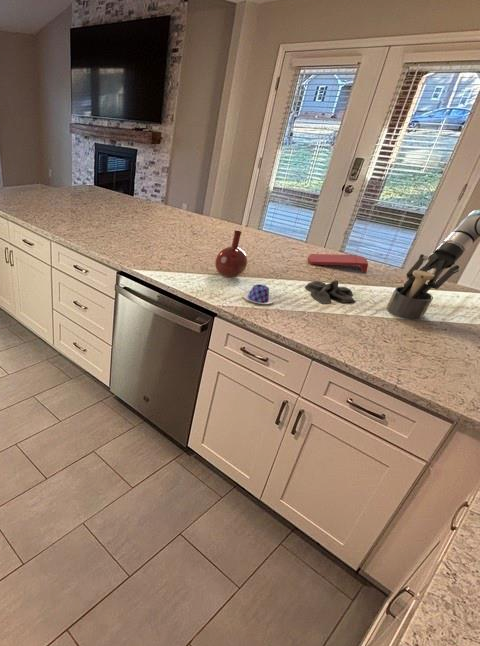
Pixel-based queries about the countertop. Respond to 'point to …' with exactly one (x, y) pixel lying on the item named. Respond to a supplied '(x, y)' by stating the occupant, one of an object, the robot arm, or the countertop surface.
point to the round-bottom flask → (231, 259)
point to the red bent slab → (338, 260)
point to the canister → (408, 305)
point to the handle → (419, 281)
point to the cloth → (329, 292)
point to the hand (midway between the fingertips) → (407, 296)
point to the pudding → (259, 294)
